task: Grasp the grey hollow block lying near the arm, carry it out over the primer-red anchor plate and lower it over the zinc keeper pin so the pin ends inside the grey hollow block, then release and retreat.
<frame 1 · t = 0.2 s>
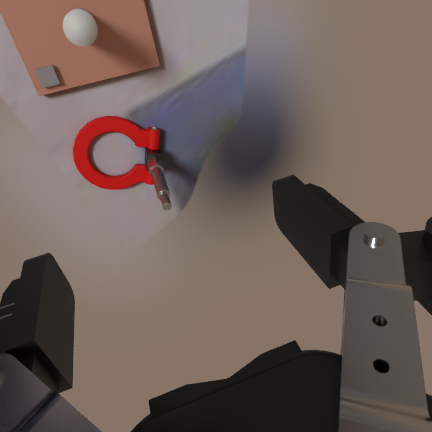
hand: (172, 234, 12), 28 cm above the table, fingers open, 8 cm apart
keeper plate: (81, 22, 32), on the table
tow hook: (117, 152, 39), on the table
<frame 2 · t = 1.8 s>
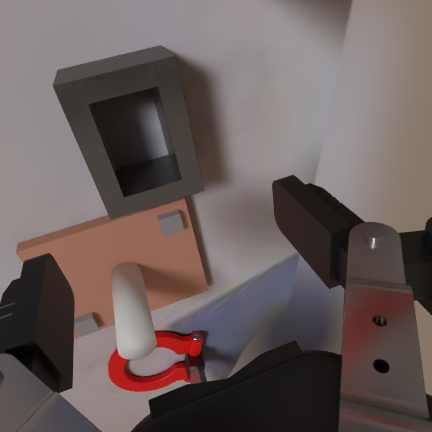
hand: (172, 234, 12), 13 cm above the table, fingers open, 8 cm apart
keeper plate: (124, 265, 28), on the table
grey hollow block: (131, 123, 22), on the table
tow hook: (154, 355, 36), on the table
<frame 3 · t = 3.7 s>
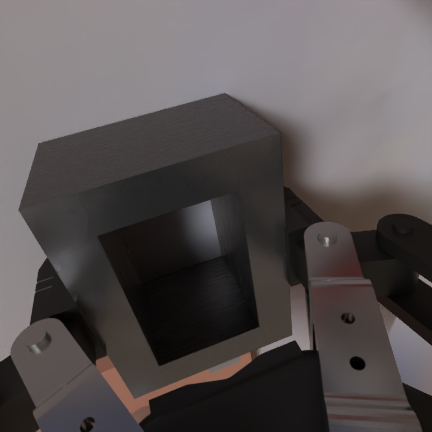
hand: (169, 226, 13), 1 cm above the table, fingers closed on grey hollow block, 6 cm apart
keeper plate: (146, 400, 19), on the table
grey hollow block: (167, 218, 13), on the table, touching gripper
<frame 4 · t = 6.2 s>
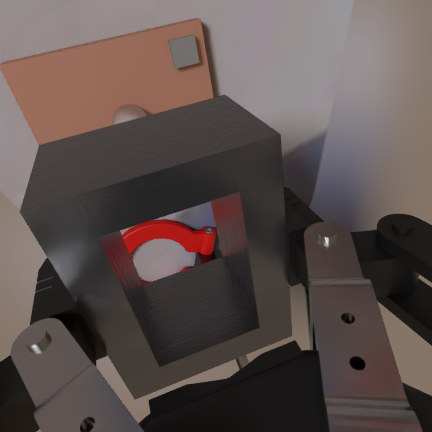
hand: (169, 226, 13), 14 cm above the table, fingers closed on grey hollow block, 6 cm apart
keeper plate: (128, 117, 24), on the table
grey hollow block: (167, 219, 13), point 14 cm above the table, touching gripper
tow hook: (161, 256, 32), on the table
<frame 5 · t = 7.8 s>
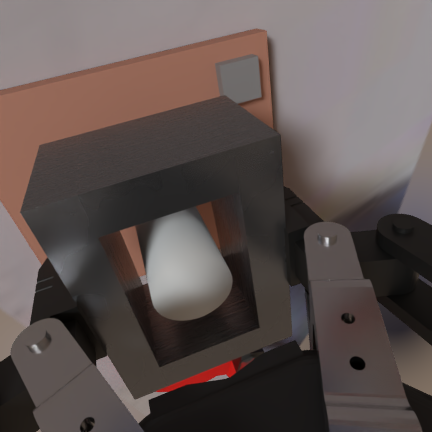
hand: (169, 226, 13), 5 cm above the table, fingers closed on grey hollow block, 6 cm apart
keeper plate: (150, 174, 16), on the table
grey hollow block: (167, 219, 13), point 4 cm above the table, touching gripper
tow hook: (186, 338, 24), on the table
when the fingers open (4 cm above the table, at t = 8.9 s): grey hollow block drops 2 cm, resting on keeper plate.
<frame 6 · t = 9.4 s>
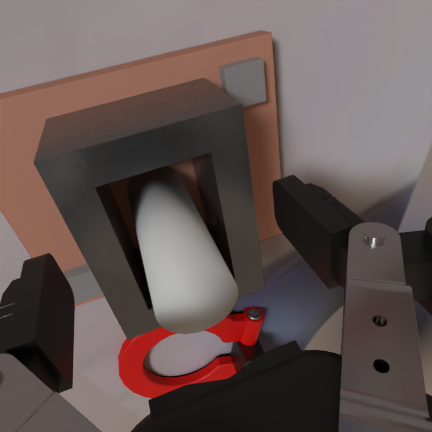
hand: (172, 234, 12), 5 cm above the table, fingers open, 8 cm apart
keeper plate: (151, 179, 16), on the table
grey hollow block: (156, 188, 15), point 1 cm above the table, touching keeper plate
tow hook: (187, 344, 24), on the table
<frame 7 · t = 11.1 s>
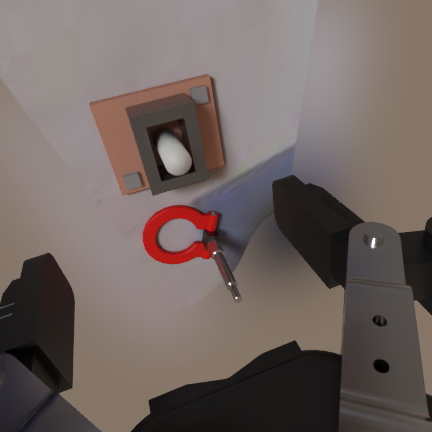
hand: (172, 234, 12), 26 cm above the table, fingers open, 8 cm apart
keeper plate: (162, 135, 37), on the table
grey hollow block: (164, 138, 36), point 1 cm above the table, touching keeper plate
tow hook: (178, 232, 44), on the table
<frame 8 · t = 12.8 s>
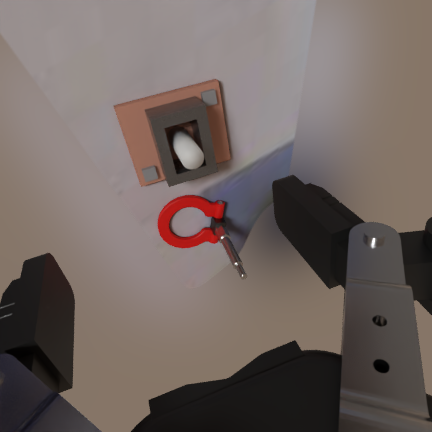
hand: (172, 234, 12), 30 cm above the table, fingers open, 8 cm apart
keeper plate: (176, 133, 42), on the table
grey hollow block: (178, 135, 41), point 1 cm above the table, touching keeper plate
tow hook: (189, 219, 49), on the table
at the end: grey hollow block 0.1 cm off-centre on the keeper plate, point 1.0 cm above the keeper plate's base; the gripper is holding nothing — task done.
